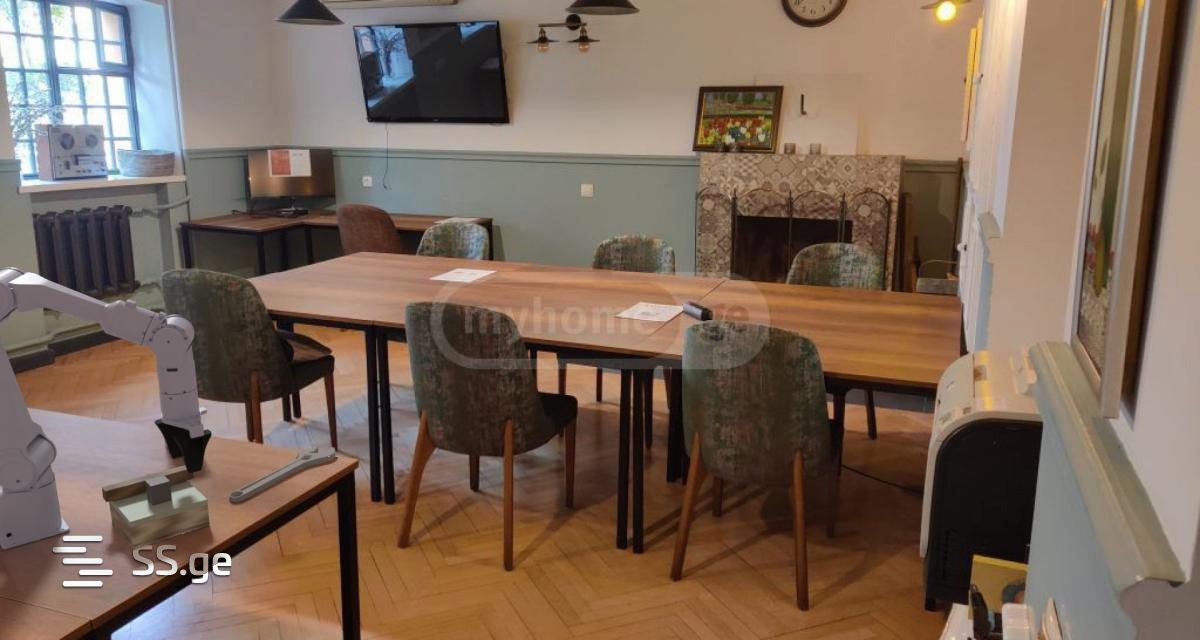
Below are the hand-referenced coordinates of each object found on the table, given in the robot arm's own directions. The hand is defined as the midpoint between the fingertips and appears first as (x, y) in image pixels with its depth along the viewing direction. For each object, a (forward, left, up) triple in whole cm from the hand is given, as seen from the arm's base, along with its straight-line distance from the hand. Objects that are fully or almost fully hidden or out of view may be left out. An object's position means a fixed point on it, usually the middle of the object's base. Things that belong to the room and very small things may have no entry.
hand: (186, 464), depth 148 cm
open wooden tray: (-5, +1, -10) cm, 11 cm away
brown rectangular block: (-5, +5, -5) cm, 8 cm away
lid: (-5, +1, -7) cm, 9 cm away
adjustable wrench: (+19, +6, -10) cm, 23 cm away
